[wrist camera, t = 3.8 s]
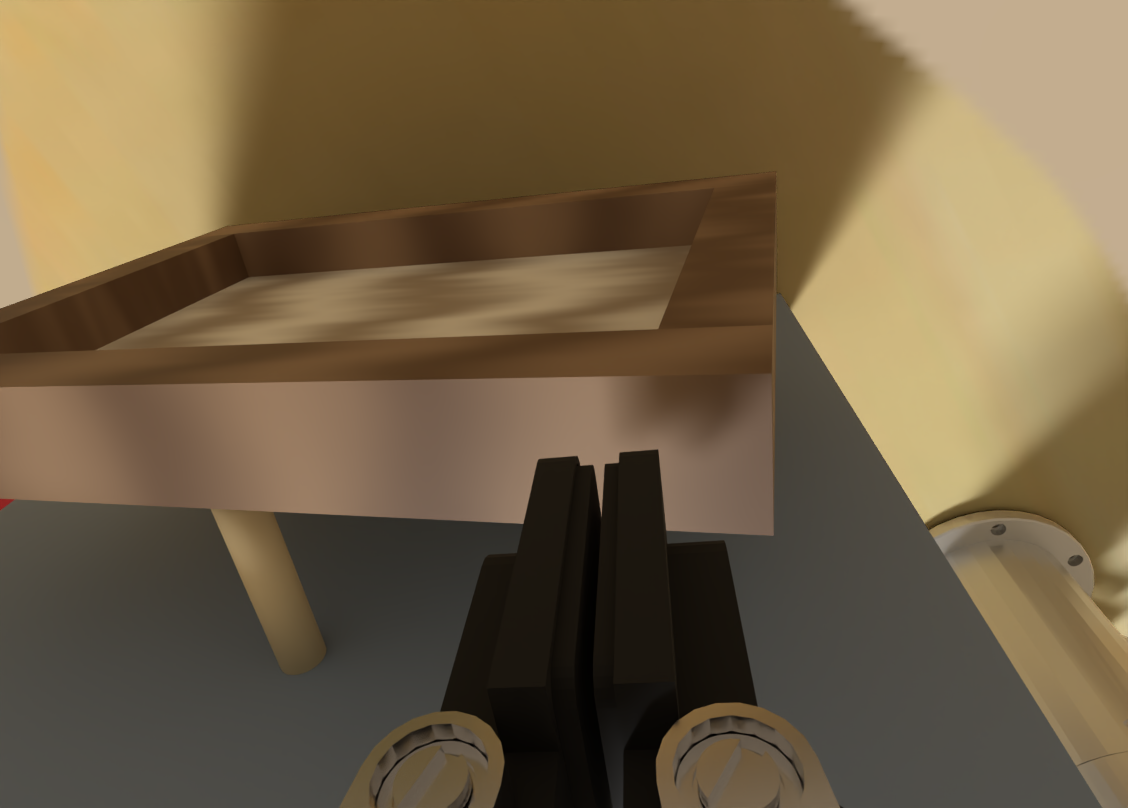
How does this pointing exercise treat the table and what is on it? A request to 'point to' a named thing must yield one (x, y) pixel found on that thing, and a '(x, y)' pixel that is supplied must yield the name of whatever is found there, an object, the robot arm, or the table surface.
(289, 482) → the picture frame
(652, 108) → the table surface
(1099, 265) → the table surface
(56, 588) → the board
